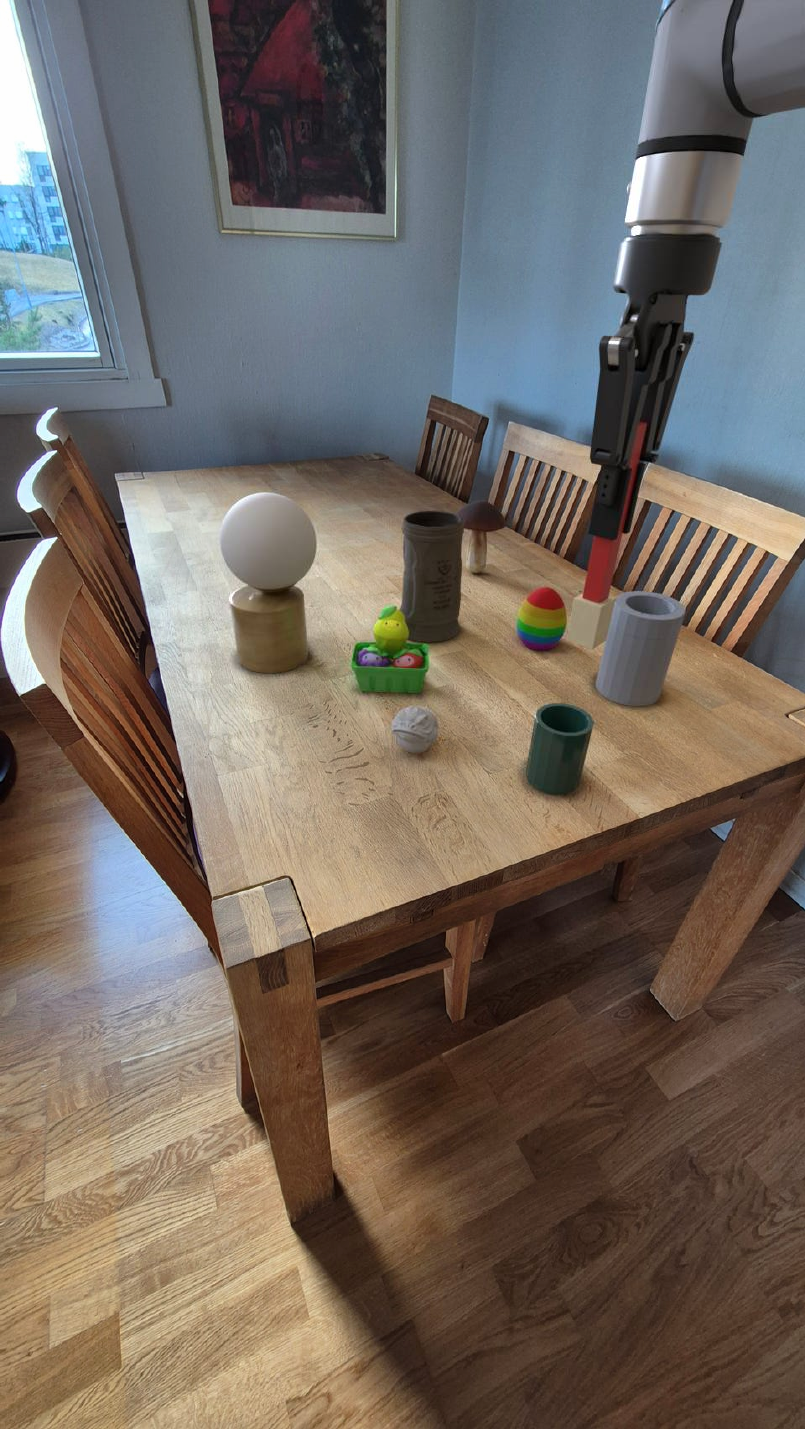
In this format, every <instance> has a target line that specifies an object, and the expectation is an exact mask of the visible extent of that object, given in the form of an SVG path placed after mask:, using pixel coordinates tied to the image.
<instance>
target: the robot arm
mask: <svg viewBox="0 0 805 1429" xmlns="http://www.w3.org/2000/svg"><path fill="white" fill-rule="evenodd" d="M658 17H659V18H657V19H656V24H655V31H654V40H655V41H654V46H653V52H652V57H651V58H652V59H651V64H650V71H649V75H648V81H647V88H646V93H645V94H646V95H645V100H644V105H643V112H642V118H641V122H640V130H639V137H638V142H637V149H636V154H635V162H634V168H633V173H632V177H631V178H632V179H631V181H629V182H628V184H627V187H626V193H627V195H628V201H627V208H626V212H625V218H624V225H625V226H626V228H627V229H630V234H629V236H624V237H623V241H621V242H619V248H618V255H617V260H616V266H615V272H614V277H613V282H612V288H613V290H614V292H615V293H617V294H627V300H626V304H625V307H624V309H623V312H622V314H621V317H620V321H619V330H618V331H617V332H616V334H614V335H603V336H601V338H600V340H599V343H598V344H599V345H598V354H599V355H598V356H599V373H598V381H597V382H598V383H597V392H596V400H595V409H594V418H593V425H592V426H593V427H592V433H591V434H592V435H591V443H590V451H589V452H590V453H589V460H590V464H592V465H598V466H600V471H599V475H598V480H597V486H596V491H595V496H594V501H593V506H592V511H591V516H590V522H589V526H588V531H587V532H588V535H590V536H593V537H594V536H598V537H602V538H605V539H609V540H613V541H614V540H616V539H617V536H618V532H619V527H620V523H621V518H622V514H623V509H624V505H625V500H626V495H627V491H628V486H629V482H630V477H631V473H632V468H627V466H628V464H629V460H630V456H631V452H632V448H633V444H634V441H635V437H636V433H637V429H638V425H639V422H644V423H647V426H646V431H645V435H644V439H643V444H642V448H641V453H640V457H639V462H638V466H637V471H636V475H635V480H634V484H633V489H632V493H631V498H630V502H629V507H628V511H627V516H626V520H625V525H624V529H623V535H624V534H625V535H627V534H629V533H630V532H631V528H632V525H633V520H634V516H635V511H636V506H637V502H638V497H639V493H640V490H641V485H642V480H643V477H644V471H645V468H646V463H651V464H655V463H656V462H657V461H658V458H659V456H660V455H659V454H657V453H653V452H658V451H659V450H660V447H661V445H662V442H663V436H664V434H665V431H666V427H667V425H668V424H667V423H668V420H669V416H670V413H671V410H672V407H673V403H674V400H675V397H676V392H677V389H678V386H679V382H680V378H681V375H682V372H683V369H684V365H685V362H686V360H687V357H688V355H689V353H690V350H691V348H692V345H693V343H694V340H695V333H694V332H693V331H685V322H686V314H687V305H688V304H687V303H688V298H689V297H690V296H705V295H706V294H707V293H708V292H709V291H710V290H711V289H712V285H713V281H714V277H715V273H716V269H717V265H718V260H719V257H720V253H721V249H722V245H723V242H720V241H721V238H720V237H719V236H717V233H718V230H719V229H723V228H725V227H726V226H727V225H728V223H729V220H730V215H731V212H732V208H733V203H734V200H735V195H736V191H737V186H738V183H739V179H740V175H741V169H742V165H743V162H744V156H745V153H746V148H747V144H748V140H749V136H750V134H751V130H752V124H753V122H754V119H756V118H762V117H766V116H770V115H773V114H778V113H783V112H788V111H793V110H794V111H795V110H801V109H805V0H662V3H661V8H660V12H659V16H658ZM645 462H646V463H645Z"/></svg>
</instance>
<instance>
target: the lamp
mask: <svg viewBox="0 0 805 1429" xmlns="http://www.w3.org/2000/svg"><path fill="white" fill-rule="evenodd" d="M317 544H318V543H317V534H316V530H315V528H314V524H313V522H312V521H311V518H310V517H309V515H308V514H307V512H306V511H305V510H304V509H303V507H301V506H300V505H299V504H298V503H297V502H295V501H294V500H293V499H291V498H289V497H286V496H285V495H282V494H279V493H275V492H257V493H253V494H249V495H247V496H245V497H243V498H241V499H240V500H237V502H236V503H234V504H233V505H232V506H231V507H230V509H228V511H227V513H226V515H225V516H224V518H223V520H222V523H221V527H220V531H219V547H220V552H221V555H222V558H223V560H224V562H225V565H226V566H227V567H228V569H229V570H230V572H231V573H232V574H233V575H234V576H235V577H236V578H237V580H239V581H240V582H242V583H243V584H245V586H242V587H240V588H238V589H236V590H235V591H233V592H232V594H230V596H229V606H230V613H231V619H232V620H231V621H232V627H233V634H234V640H235V647H236V652H237V653H236V654H237V660H238V662H239V664H240V665H241V666H242V667H243V668H245V669H246V670H249V671H251V672H255V673H261V674H277V673H284V672H288V671H292V670H293V669H296V668H298V667H300V666H301V665H303V664H304V663H305V662H306V660H307V659H308V657H309V644H308V643H309V642H308V632H307V617H306V606H305V594H304V592H303V591H302V589H301V588H300V587H298V586H296V585H297V584H298V583H299V582H300V581H301V580H303V579H304V577H305V576H307V574H308V573H309V572H310V570H311V568H312V566H313V564H314V562H315V558H316V554H317Z"/></svg>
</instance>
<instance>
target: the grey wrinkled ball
mask: <svg viewBox="0 0 805 1429" xmlns="http://www.w3.org/2000/svg"><path fill="white" fill-rule="evenodd" d="M390 727H391V728H390V729H391V733H392V734H393V735H394V737H395V741H396V742H397V743H398V745H399V746H400V747H401V748H402V749H403V750H404V751H406V752H408V753H412V754H420V753H423V752H425V751H427V750H428V749H430V747H431V746H432V745H433V744H434V742H435V741H436V739H437V738H438V737H439V722H438V719H437V716H435V714H434V713H433V712H432V711H431V710H430V709H428V708H427V707H424V706H419V705H418V706H415V705H409V706H408V707H404V708H403V709H400V710H399V711H398V712H397V714H396V715H395V717H394V718H393V720H392V723H391V726H390Z"/></svg>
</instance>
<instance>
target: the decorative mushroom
mask: <svg viewBox="0 0 805 1429" xmlns="http://www.w3.org/2000/svg"><path fill="white" fill-rule="evenodd" d="M455 514H456V515H458V516H460V517H461V518H462V520H463V527H464V530H465V529H466V530H470V534H469V539H468V543H467V547H466V548H467V549H466V555H465V566H466V569H467V571H468V572H469V573H472V574H480V573H481V572H483V571H484V570H485V569H486V568H485V567H486V565H487V554H488V539H487V538H488V537H487V536H488V535H487V533H491V532H497V531H500V530H502V529H505V528H506V527H507V522H506V519H505V517H504V515H503V514H502V512H501V511H500V510H499V509H498V507H496V506H495V505H494V504H493V503H491V502H488V501H487V500H481V499H479V500H478V499H477V500H474V501H472V502H469V503H467V504H465V505H464V506H462V507H461V508H460V509H458V510H457V511H456V512H455Z"/></svg>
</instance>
